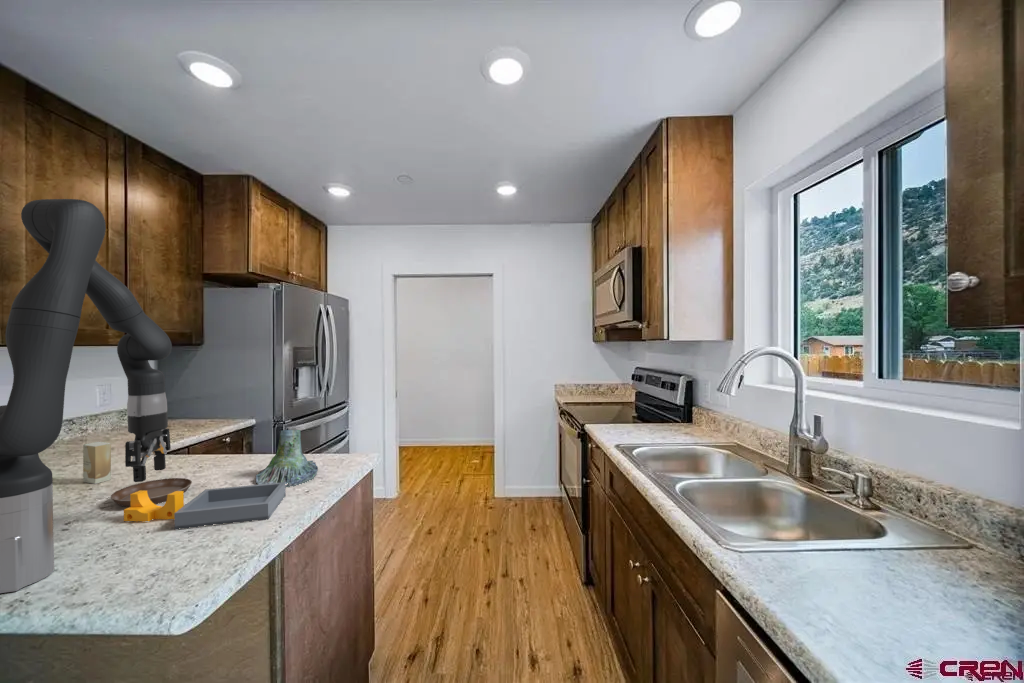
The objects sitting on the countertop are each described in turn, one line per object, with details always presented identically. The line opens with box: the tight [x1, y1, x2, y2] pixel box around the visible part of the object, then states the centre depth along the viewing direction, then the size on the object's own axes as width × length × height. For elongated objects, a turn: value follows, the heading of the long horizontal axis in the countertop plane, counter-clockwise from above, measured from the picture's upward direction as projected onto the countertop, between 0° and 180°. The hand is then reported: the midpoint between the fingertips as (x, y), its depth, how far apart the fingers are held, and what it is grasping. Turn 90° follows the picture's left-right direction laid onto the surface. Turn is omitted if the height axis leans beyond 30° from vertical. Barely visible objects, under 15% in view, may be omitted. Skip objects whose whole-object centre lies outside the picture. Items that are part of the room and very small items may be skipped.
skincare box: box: [82, 441, 112, 484], centre depth 133 cm, size 6×4×12 cm
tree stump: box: [255, 429, 319, 488], centre depth 135 cm, size 18×20×18 cm
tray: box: [174, 482, 287, 530], centre depth 108 cm, size 16×20×4 cm
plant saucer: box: [110, 477, 193, 508], centre depth 119 cm, size 18×18×3 cm
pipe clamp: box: [123, 490, 185, 522], centre depth 104 cm, size 12×4×6 cm, turn 86°
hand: (150, 475), depth 103 cm, fingers open, 8 cm apart
